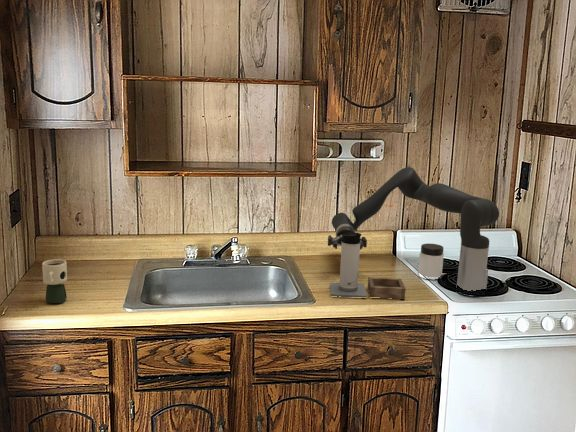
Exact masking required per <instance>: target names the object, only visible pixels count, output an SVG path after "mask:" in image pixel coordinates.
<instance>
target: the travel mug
mask: <svg viewBox="0 0 576 432" xmlns="http://www.w3.org/2000/svg"><path fill="white" fill-rule="evenodd" d="M361 237H362V233H360V232H355V233H346V234H343V235H342V246H340V250H341V251H340V265H339V283H340V284H339V288H340V289H341V290H343V291H349V292H351V291H356V290H357V288H358V284H359V268H360V254H361V253H360V251H361V250H360V239H361Z"/></svg>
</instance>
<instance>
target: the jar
mask: <svg viewBox="0 0 576 432" xmlns="http://www.w3.org/2000/svg"><path fill="white" fill-rule="evenodd" d="M444 255H445V254H444V246H443V245H440V244H437V243H423V244H421V246H420V252H419V257H418V258H419V259H418V269H417V270H418V271H417V274H418V273H420V274H422V275H424V276H427V277H439V276H441V275H442V276H443V265H444V258H445V257H444Z"/></svg>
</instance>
